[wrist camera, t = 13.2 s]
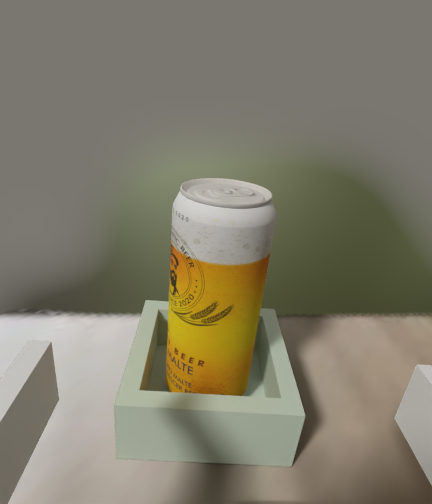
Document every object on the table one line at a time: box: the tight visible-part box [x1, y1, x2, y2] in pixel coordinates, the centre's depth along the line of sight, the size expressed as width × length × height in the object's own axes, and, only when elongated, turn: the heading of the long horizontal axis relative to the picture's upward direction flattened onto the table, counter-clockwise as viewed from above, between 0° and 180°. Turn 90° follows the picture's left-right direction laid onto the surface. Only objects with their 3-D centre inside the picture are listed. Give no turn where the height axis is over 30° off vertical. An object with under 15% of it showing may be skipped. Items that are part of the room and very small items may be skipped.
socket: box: [114, 300, 305, 467], centre depth 26 cm, size 11×11×4 cm
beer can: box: [166, 178, 276, 396], centre depth 24 cm, size 6×6×15 cm
